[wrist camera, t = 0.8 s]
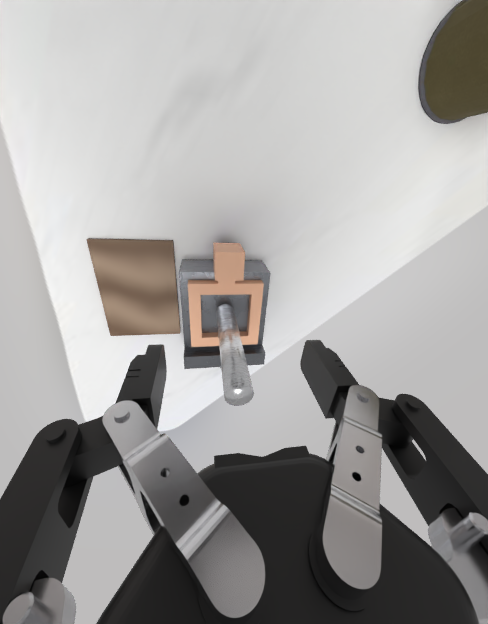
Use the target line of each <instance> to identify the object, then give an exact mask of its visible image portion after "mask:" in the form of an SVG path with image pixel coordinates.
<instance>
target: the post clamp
mask: <svg viewBox="0 0 488 624" xmlns="http://www.w3.org/2000/svg"><path fill="white" fill-rule="evenodd" d="M179 278H180V291H181V305H182V318H183V331H184V345H185V350H184V366H185V369H190V368H207V367H220V368H222V378H223V388H224V398H225V401H226V402H227V403H229V404H231V405H234V406H239V405H244V404H246V403H248V402H249V401H250V400H251V399H252V397H253V394H254V392H253V388H252V384H251V379H250V375H249V371H248V367H247V365H260V364H264V359H265V351H264V348H263V346H262V341H263V332H264V324H265V315H266V306H267V298H268V289H269V280H270V271H269V270H268V269H267V267H266V266H265V264H264V263H263V262H262V261H257V260H245V264H244V280H262V281H263V283H264V287H263V297H262V307H261V316H260V326H259V335H258V344H250V345H242V341H241V337H240V333H239V332H241V331H247V324H248V310H249V297H250V294H244V295H201V322H202V333H212V332H218V338H219V346H204V347H191V331H190V314H189V297H188V280H215V276H214V260H182V262H181V266H180V270H179Z"/></svg>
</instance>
